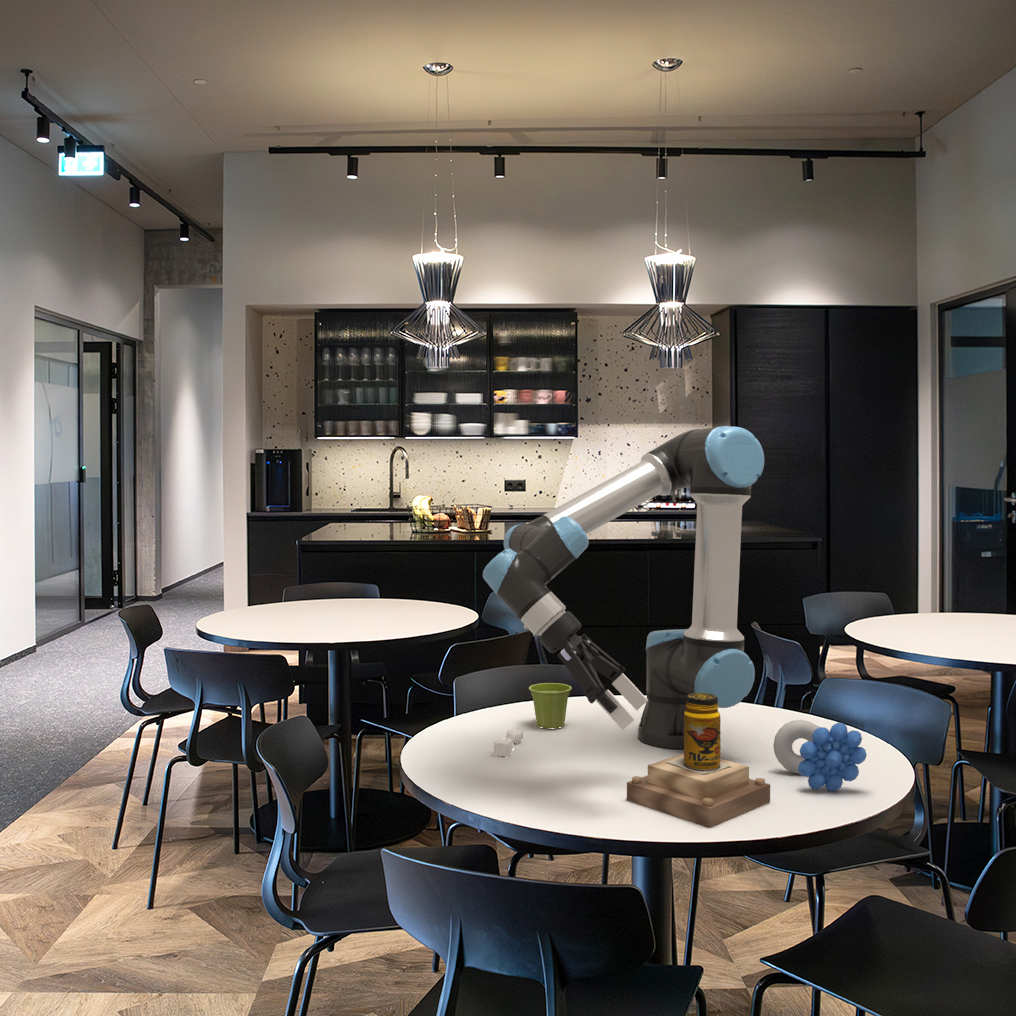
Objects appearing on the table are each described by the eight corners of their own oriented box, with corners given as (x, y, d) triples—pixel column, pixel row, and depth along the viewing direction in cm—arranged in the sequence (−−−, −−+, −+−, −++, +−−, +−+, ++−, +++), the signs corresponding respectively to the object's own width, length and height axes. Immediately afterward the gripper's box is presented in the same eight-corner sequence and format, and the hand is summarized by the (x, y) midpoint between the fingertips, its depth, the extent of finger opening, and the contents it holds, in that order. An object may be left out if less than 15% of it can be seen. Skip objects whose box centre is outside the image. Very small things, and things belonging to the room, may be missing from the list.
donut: (828, 772, 170) (828, 718, 170) (831, 778, 166) (831, 723, 166) (772, 769, 172) (772, 716, 171) (774, 775, 168) (774, 721, 168)
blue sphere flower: (857, 783, 163) (858, 716, 163) (870, 796, 157) (871, 726, 156) (791, 782, 164) (792, 716, 164) (801, 795, 157) (802, 726, 157)
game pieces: (509, 759, 179) (508, 743, 179) (492, 758, 180) (492, 742, 180) (524, 742, 191) (524, 727, 191) (509, 741, 192) (509, 725, 192)
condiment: (703, 775, 149) (703, 702, 149) (665, 762, 156) (665, 693, 156) (732, 766, 154) (732, 696, 154) (693, 755, 161) (694, 687, 160)
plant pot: (540, 733, 197) (540, 693, 196) (522, 723, 205) (522, 684, 205) (578, 729, 200) (578, 689, 200) (559, 719, 209) (559, 681, 209)
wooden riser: (626, 799, 155) (626, 764, 155) (688, 778, 167) (688, 745, 167) (709, 827, 143) (709, 789, 143) (770, 802, 154) (770, 766, 154)
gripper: (555, 627, 175) (633, 711, 171) (517, 650, 151) (606, 748, 147) (582, 600, 173) (661, 685, 169) (548, 619, 149) (639, 718, 145)
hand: (636, 714), depth 158 cm, fingers open, 13 cm apart
